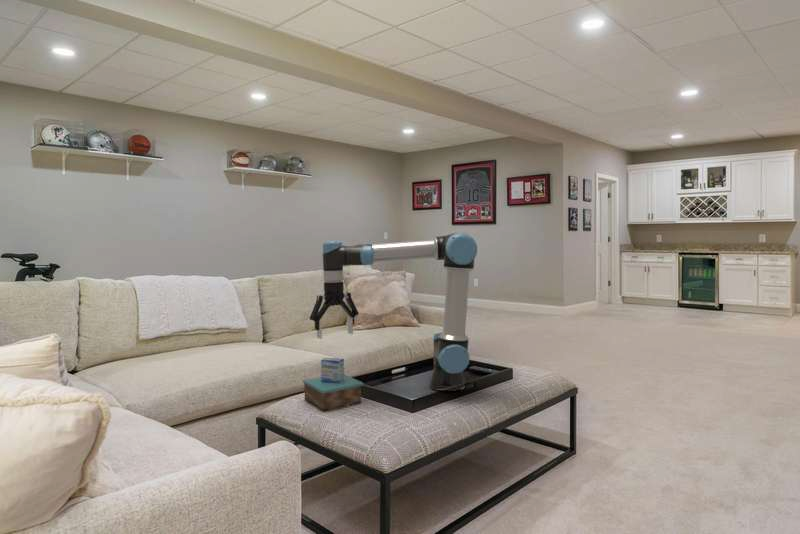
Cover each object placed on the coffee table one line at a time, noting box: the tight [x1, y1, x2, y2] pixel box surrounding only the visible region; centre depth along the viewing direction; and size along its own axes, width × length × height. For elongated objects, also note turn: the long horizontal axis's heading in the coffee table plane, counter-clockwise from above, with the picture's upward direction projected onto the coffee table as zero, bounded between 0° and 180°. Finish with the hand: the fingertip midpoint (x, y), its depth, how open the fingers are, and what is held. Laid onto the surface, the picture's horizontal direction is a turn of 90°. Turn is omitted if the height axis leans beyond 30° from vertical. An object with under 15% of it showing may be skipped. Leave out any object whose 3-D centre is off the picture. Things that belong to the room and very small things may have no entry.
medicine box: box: [320, 357, 345, 383], centre depth 202 cm, size 8×4×9 cm, turn 74°
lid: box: [302, 373, 364, 394], centre depth 202 cm, size 17×17×1 cm
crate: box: [303, 383, 362, 412], centre depth 202 cm, size 16×16×7 cm
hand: (335, 335), depth 203 cm, fingers open, 13 cm apart
